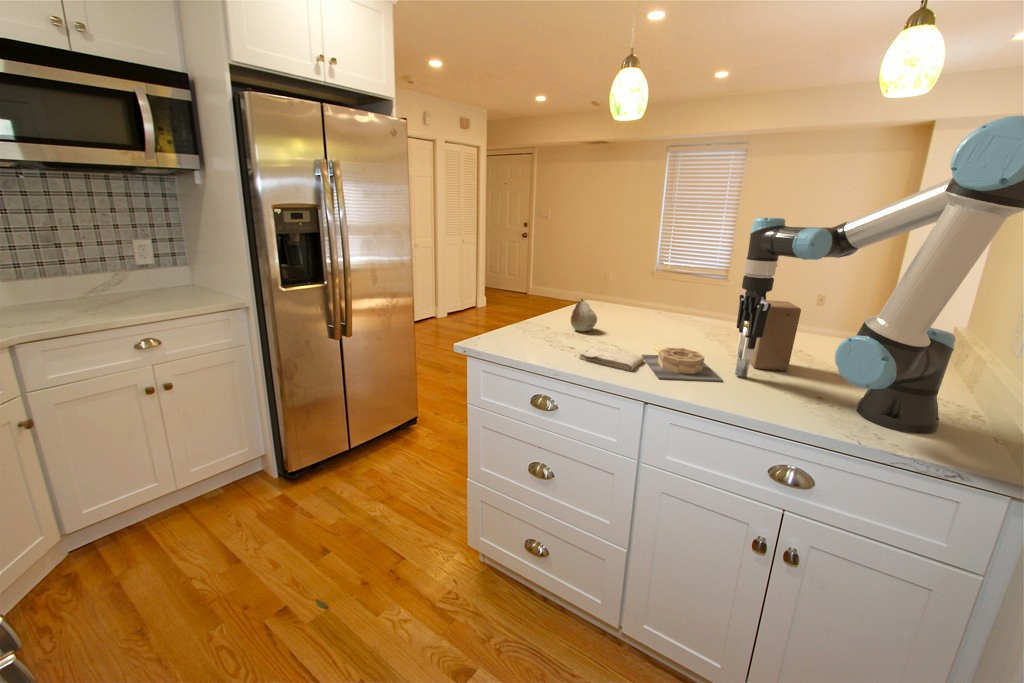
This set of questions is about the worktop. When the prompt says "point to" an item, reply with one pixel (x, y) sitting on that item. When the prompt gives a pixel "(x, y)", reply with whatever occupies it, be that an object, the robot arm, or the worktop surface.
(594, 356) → the washcloth
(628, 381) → the worktop surface
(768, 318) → the wooden block
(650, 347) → the worktop surface
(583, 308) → the fruit
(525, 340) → the worktop surface
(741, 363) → the brass-banded steel rod
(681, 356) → the wooden ring socket base
